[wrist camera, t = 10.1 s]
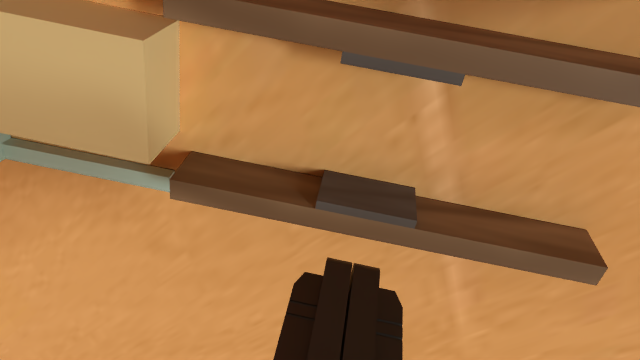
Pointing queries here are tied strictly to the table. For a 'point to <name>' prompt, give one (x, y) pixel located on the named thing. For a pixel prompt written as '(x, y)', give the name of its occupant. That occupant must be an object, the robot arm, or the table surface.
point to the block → (89, 77)
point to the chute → (392, 199)
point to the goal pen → (84, 163)
